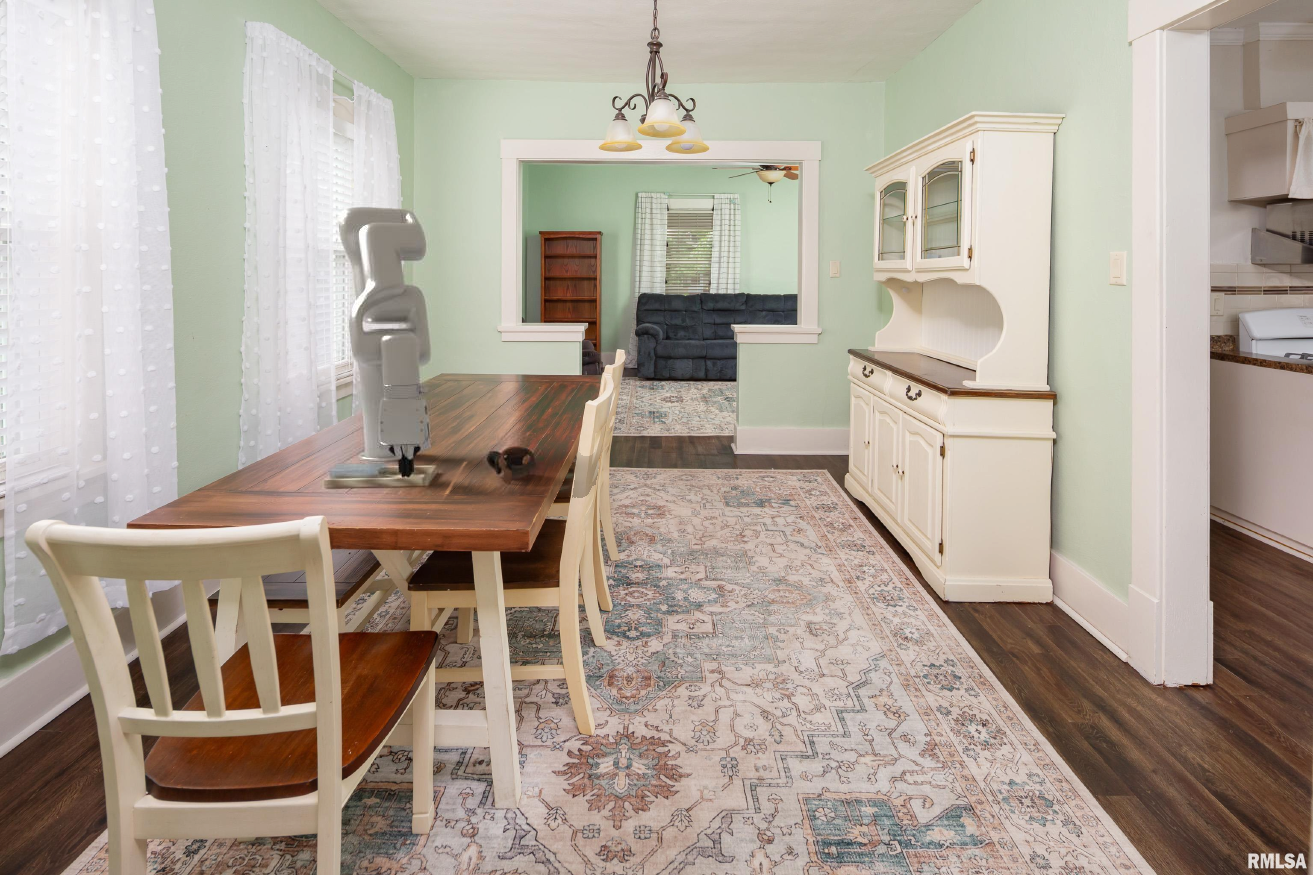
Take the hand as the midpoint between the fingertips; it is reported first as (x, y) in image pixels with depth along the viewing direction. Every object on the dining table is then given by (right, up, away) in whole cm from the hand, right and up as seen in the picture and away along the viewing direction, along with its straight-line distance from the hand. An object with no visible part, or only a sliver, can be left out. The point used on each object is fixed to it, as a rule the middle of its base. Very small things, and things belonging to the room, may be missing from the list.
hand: (406, 475), depth 177 cm
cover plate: (-10, -1, -1) cm, 10 cm away
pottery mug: (+22, -1, +4) cm, 23 cm away
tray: (-5, -1, 0) cm, 5 cm away
